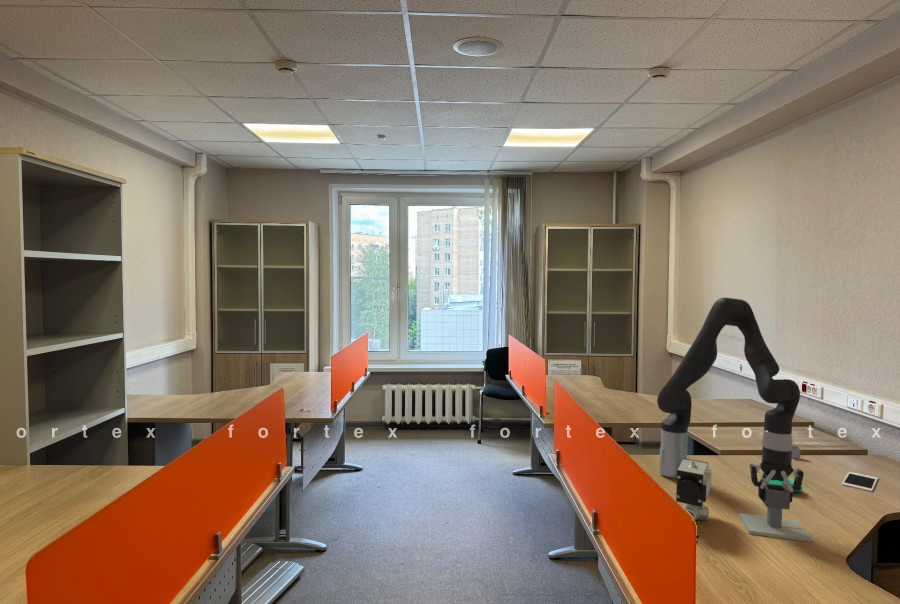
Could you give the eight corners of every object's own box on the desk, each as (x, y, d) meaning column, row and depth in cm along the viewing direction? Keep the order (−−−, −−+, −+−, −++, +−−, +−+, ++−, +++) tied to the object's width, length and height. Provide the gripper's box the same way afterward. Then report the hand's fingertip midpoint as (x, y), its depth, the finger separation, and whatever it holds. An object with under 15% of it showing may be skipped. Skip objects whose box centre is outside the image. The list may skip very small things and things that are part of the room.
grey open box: (766, 506, 157) (767, 488, 156) (760, 498, 162) (761, 481, 162) (789, 509, 155) (790, 491, 155) (783, 501, 161) (783, 483, 160)
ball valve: (705, 532, 156) (707, 473, 155) (674, 525, 160) (676, 467, 160) (712, 510, 171) (713, 456, 170) (683, 504, 176) (685, 451, 175)
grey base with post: (749, 533, 155) (750, 510, 155) (739, 516, 167) (740, 494, 167) (812, 542, 151) (813, 517, 151) (797, 523, 162) (798, 501, 162)
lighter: (799, 458, 224) (800, 439, 223) (800, 459, 222) (800, 440, 222) (780, 455, 227) (780, 436, 227) (780, 456, 226) (780, 437, 225)
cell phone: (877, 479, 201) (878, 477, 201) (871, 493, 188) (872, 490, 188) (848, 473, 207) (849, 471, 207) (841, 486, 194) (841, 483, 194)
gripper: (753, 447, 156) (751, 503, 157) (809, 452, 152) (807, 510, 153) (747, 440, 164) (745, 493, 164) (800, 444, 159) (798, 499, 160)
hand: (774, 501), depth 159 cm, fingers closed on grey open box, 6 cm apart
